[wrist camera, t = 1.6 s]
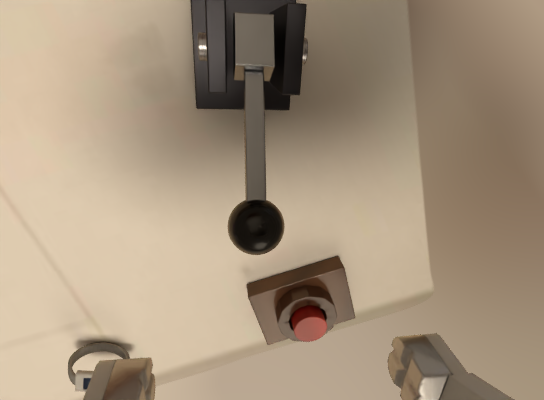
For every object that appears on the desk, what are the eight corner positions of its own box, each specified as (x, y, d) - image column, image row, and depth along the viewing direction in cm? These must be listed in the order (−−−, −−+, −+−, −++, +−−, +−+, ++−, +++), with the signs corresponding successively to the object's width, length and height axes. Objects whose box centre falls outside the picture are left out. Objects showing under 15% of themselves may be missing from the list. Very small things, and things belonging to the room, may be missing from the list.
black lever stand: (287, 107, 31) (321, 144, 20) (197, 106, 29) (183, 144, 19) (295, -23, 26) (343, -64, 16) (190, -31, 25) (166, -80, 15)
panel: (338, 255, 39) (349, 277, 35) (349, 305, 42) (361, 330, 39) (246, 284, 39) (249, 309, 35) (265, 331, 42) (269, 358, 39)
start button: (319, 300, 36) (323, 312, 35) (325, 323, 38) (330, 335, 36) (287, 310, 36) (290, 322, 35) (295, 333, 38) (298, 345, 36)
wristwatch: (134, 339, 40) (123, 377, 36) (132, 355, 41) (121, 394, 37) (78, 335, 39) (59, 374, 34) (77, 352, 40) (59, 392, 35)
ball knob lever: (280, 249, 21) (289, 258, 18) (228, 251, 20) (228, 260, 17) (276, 38, 21) (285, 10, 18) (224, 36, 20) (223, 6, 17)
